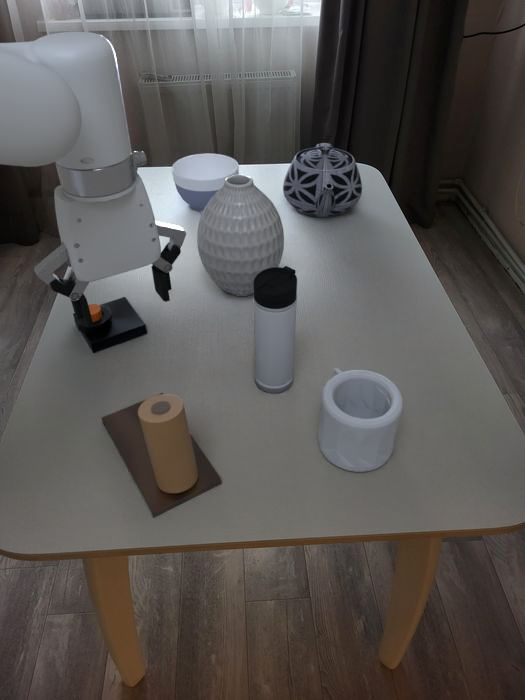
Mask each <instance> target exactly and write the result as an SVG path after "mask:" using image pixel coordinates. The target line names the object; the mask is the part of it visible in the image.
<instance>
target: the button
mask: <svg viewBox="0 0 525 700" xmlns="http://www.w3.org/2000/svg"><path fill="white" fill-rule="evenodd" d="M99 305H100V304H96V303H91V304H88V306H89V310H90V313H91V317H92V321H93V322H96V321H99V320H100V319H101V318H102V312H101V308H100V306H99Z"/></svg>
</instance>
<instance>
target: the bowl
mask: <svg viewBox="0 0 525 700" xmlns="http://www.w3.org/2000/svg"><path fill="white" fill-rule="evenodd" d="M171 173H172V178H173V179H172V180H173V182H174V185H175V188H176V191H177V193H178V194H179V196H180V198H181V199H182V200H183V201H184V202H185V203H186V204H188V205H189V207H190V208H191V209H192V210H195V211H197V212H201V213H202V212H203V210H204V208H205V206H206V204H207V203H208V202H209V200H210V199H211V198H212V197H213V196H214V195H215V194H216V193H217V192H218V191H219V190H220V189H221V188H222V187H223V186H224V181H225V179H226V178H228V177H229V176H233V175H240V165H239V163H238V161H237V160H236V159H235V158H233V157H232V156H228V155H224V154H221V153H195V154H191V155H187V156H184V157H182V158H179V159H177V160H175V162H174V163H173V164H172V166H171Z"/></svg>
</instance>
